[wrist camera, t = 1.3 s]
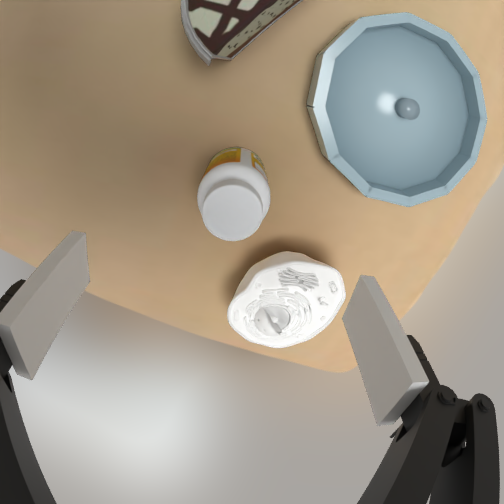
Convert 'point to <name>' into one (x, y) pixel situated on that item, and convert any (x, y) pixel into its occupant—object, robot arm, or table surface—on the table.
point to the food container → (228, 24)
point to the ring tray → (397, 108)
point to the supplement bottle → (234, 194)
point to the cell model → (286, 300)
